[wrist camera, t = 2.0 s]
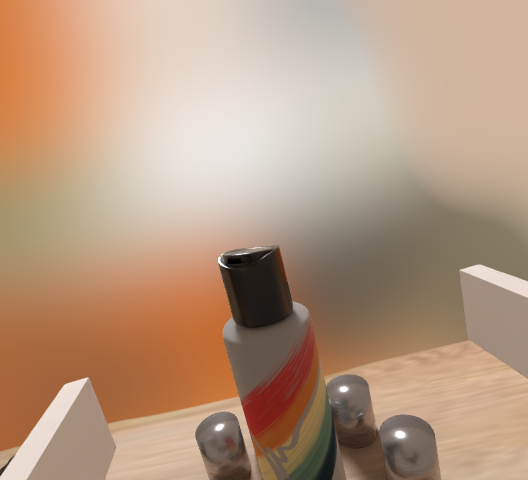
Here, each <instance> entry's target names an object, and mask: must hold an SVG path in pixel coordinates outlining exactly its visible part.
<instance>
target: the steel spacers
mask: <svg viewBox="0 0 528 480" xmlns="http://www.w3.org/2000/svg"><path fill="white" fill-rule="evenodd" d="M326 389H327V393H328V398H329V403H330V407H331V412H332V416H333V421H334V426H335V430H336V435H337V439H338V441H339V442H340V443H342V444H343V445H345V446H347V447H351V448H361V447H365V446H367V445H369V444H371V443H372V442H373V441H374V440H375V438H376V435H377V429H376V424H375V418H374V413H373V408H372V402H371V397H370V392H369V386H368V383H367V382H366V380H364V379H363V378H362V377H359V376H356V375H341V376H338V377H336V378H334V379H332V380H331V381H330V382H329V383H328V384H327V386H326ZM195 435H196V440H197V443H198V446H199V449H200V452H201V455H202V458H203V461H204V464H205V467H206V470H207V473H208V476H209V479H210V480H246V479H247V477H248V475H249V473H250V470H251V464H250V460H249V457H248V453H247V450H246V446H245V443H244V440H243V436H242V433H241V429H240V426H239V422H238V419H237V417H236V416H235V415H234V414H232V413H230V412H219V413H215V414H213V415H211V416H209V417H207V418H206V419H205V420H203V421H202V422H201V423H200V425H199V426H198V428H197V430H196V434H195ZM379 435H380V440H381V446H382V451H383V457H384V462H385V467H386V473H387V478H388V480H441V475H440V468H439V461H438V454H437V447H436V440H435V434H434V431H433V429H432V428H431V426H430V425H429V424H428V423H427V422H425V421H424V420H422V419H420V418H418V417H415V416H411V415H396V416H393V417H390V418H388V419H387V420H385V421H384V422H383V423H382V425H381V427H380V430H379Z"/></svg>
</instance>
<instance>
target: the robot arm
mask: <svg viewBox="0 0 528 480" xmlns="http://www.w3.org/2000/svg"><path fill="white" fill-rule="evenodd" d="M460 278H461V286H462V293H463V302H464V310H465V317H466V326H467V334H468V339H469V340H471V341H472V342H474V343H475V344H477V345H478V346H480V347H481V348H483V349H484V350H486V351H487V352H489V353H490V354H492V355H493V356H495V357H496V358H498V359H499V360H501V361H502V362H504V363H505V364H507V365H508V366H510V367H511V368H513V369H514V370H516V371H517V372H519V373H520V374H522V375H523V376H525V377H526V378H528V281H525V280H522V279H519V278H516V277H513V276H511V275H508V274H505V273H502V272H499V271H497V270H494V269H491V268H488V267H485V266H482V265H480V264H479V265H475V266H472V267H468V268H465V269H461V270H460ZM115 449H116V445H115V443H114V440H113V438H112V435H111V433H110V430H109V428H108V425H107V423H106V420H105V417H104V415H103V413H102V410H101V408H100V405H99V402H98V400H97V397H96V395H95V392H94V390H93V388H92V385H91V382H90V380H89V378H85V379H82V380H78V381H74V382H71V383H68V384H65V385H64V386H63V388H62V389H61V391H60V392H59V393H58V395H57V396H56V398H55V399H54V401H53V402H52V403H51V405H50V406H49V408H48V409H47V410H46V412H45V413H44V415H43V416H42V418H41V419H40V421H39V422H38V423H37V425H36V426H35V428H34V429H33V431H32V432H31V433H30V435H29V436H28V438H27V439H26V440H25V442H24V443H23V445H22V446H21V448H20V449H19V450H18V452H17V453H16V455H15V456H14V458H13V459H12V461H11V462H10V463H9V465H8V466H7V468H6V469H5V471H4V472H3V473H2V475H1V476H0V480H105V478H106V475H107V472H108V469H109V466H110V463H111V461H112V458H113V455H114V452H115Z"/></svg>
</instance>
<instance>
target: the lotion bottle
mask: <svg viewBox="0 0 528 480" xmlns="http://www.w3.org/2000/svg"><path fill="white" fill-rule="evenodd" d="M218 263H219V268H220V271H221V275H222V279H223V283H224V286H225V290H226V294H227V298H228V302H229V305H230V309H231V313H232V318H231V319H230V320H229V321H228V322H227V323H226V325H225V327H224V329H223V338H224V343H225V347H226V350H227V354H228V358H229V361H230V365H231V369H232V372H233V375H234V379H235V383H236V386H237V389H238V393H239V397H240V400H241V404H242V407H243V411H244V414H245V418H246V421H247V425H248V428H249V432H250V435H251V439H252V442H253V446H254V449H255V453H256V456H257V460H258V463H259V467H260V471H261V474H262V478H263V480H346V476H345V471H344V467H343V462H342V458H341V453H340V448H339V444H338V439H337V435H336V430H335V426H334V421H333V416H332V412H331V407H330V403H329V398H328V393H327V389H326V384H325V380H324V375H323V371H322V366H321V362H320V357H319V352H318V348H317V343H316V339H315V334H314V330H313V325H312V321H311V318H310V314H309V312H308V310H307V309H306V308H305V307H304V306H303V305H301V304H299V303H296V302H292V297H291V293H290V289H289V285H288V281H287V277H286V272H285V268H284V264H283V260H282V256H281V252H280V248H279V246H278V245H274V246H266V247H255V248H244V249H236V250H231V251H228V252H225V253H223V254H222V255H221V256H220V257H219V259H218Z"/></svg>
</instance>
